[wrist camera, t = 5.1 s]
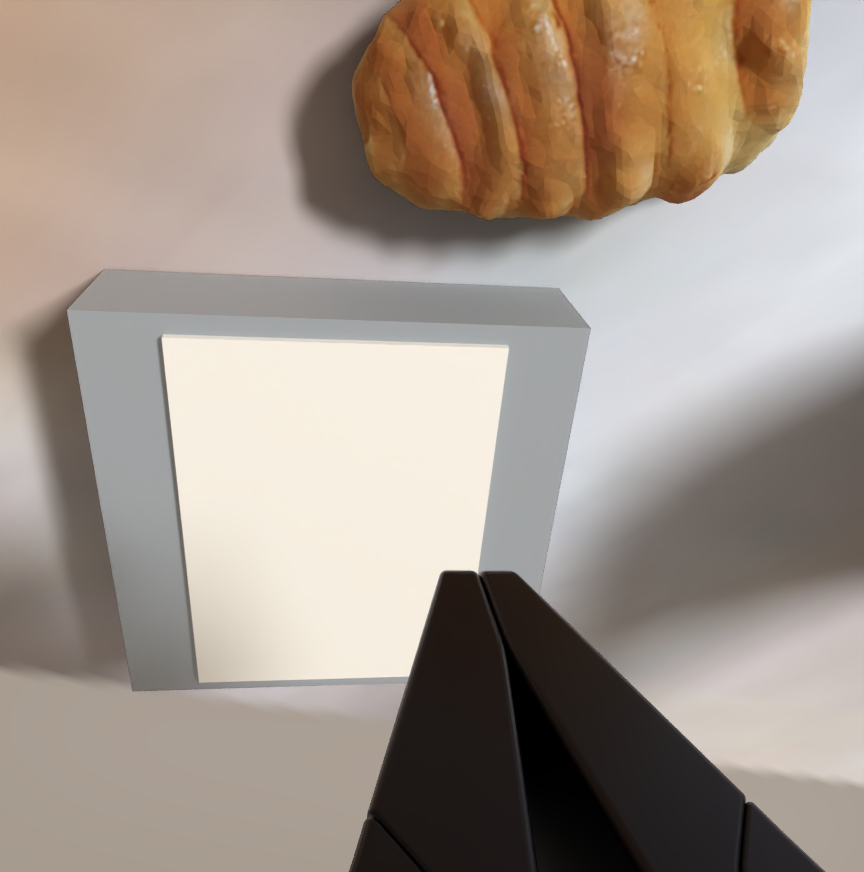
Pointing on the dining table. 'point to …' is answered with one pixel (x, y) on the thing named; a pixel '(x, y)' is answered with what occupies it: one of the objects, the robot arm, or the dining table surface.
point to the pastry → (574, 100)
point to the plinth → (315, 462)
